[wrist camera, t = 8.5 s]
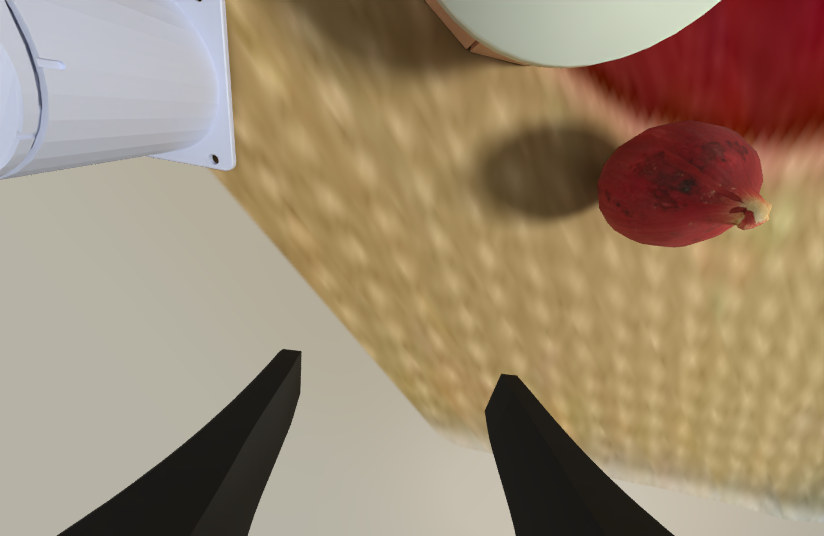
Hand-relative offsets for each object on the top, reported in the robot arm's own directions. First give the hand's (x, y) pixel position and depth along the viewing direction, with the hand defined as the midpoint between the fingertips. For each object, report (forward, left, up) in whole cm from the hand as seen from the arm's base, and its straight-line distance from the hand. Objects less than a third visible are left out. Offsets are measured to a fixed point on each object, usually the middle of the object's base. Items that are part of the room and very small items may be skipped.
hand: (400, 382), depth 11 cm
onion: (+12, +8, -11) cm, 18 cm away
